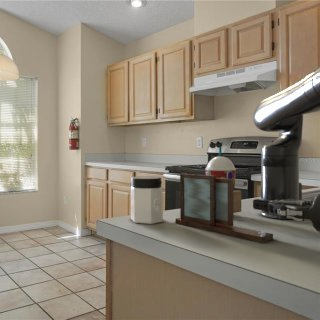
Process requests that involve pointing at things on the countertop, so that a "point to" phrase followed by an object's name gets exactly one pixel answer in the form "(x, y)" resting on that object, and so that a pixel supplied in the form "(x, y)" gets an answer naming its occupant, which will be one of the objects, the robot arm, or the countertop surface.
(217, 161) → the smoothie
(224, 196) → the sash
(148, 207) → the jar
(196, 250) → the countertop surface
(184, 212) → the window frame
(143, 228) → the countertop surface
